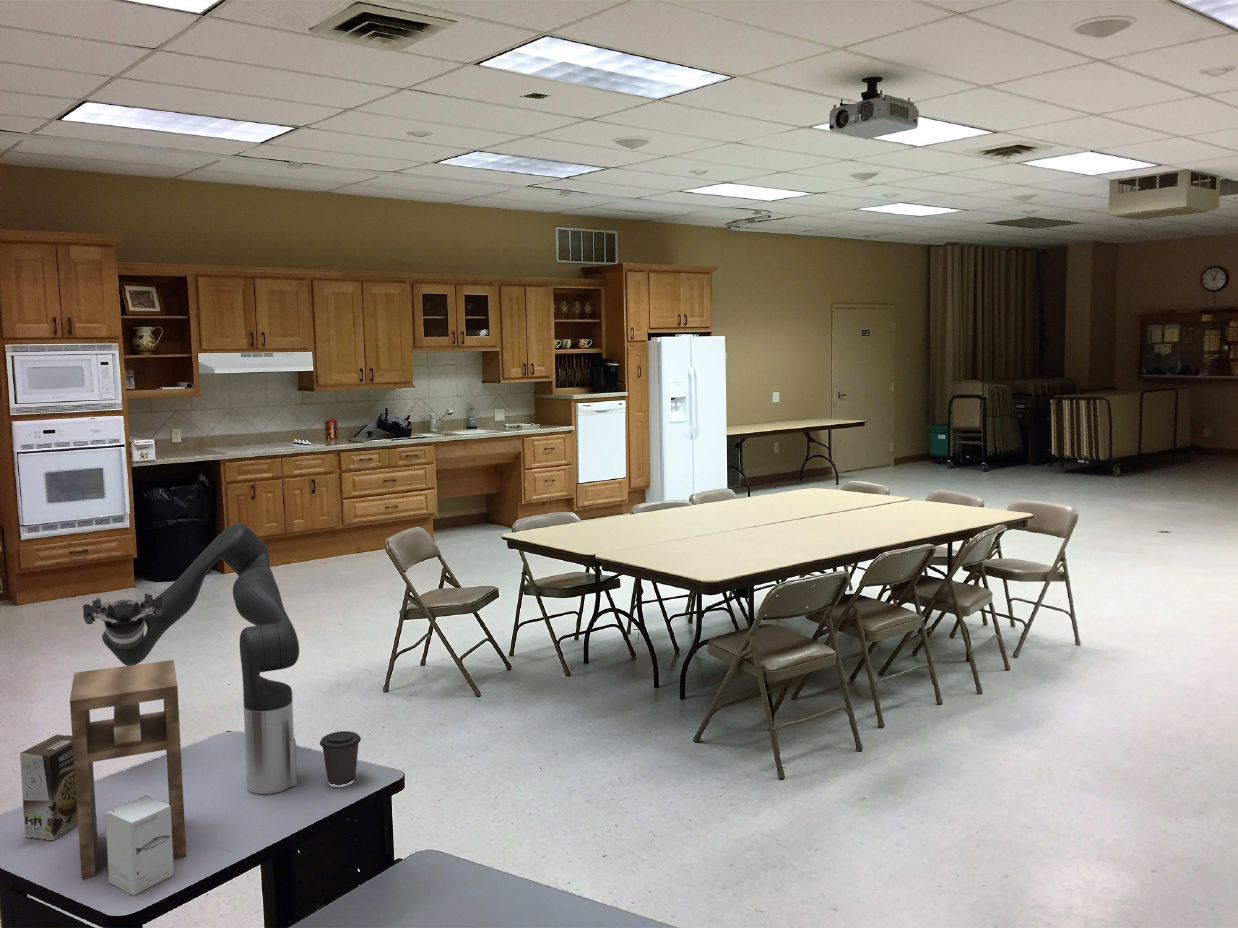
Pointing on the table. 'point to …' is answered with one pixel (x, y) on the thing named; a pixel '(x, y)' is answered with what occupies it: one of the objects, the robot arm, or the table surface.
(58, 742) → the coffee box
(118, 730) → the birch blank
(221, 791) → the table surface
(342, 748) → the coffee cup
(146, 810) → the supplement box
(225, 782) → the table surface
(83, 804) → the walnut rack
